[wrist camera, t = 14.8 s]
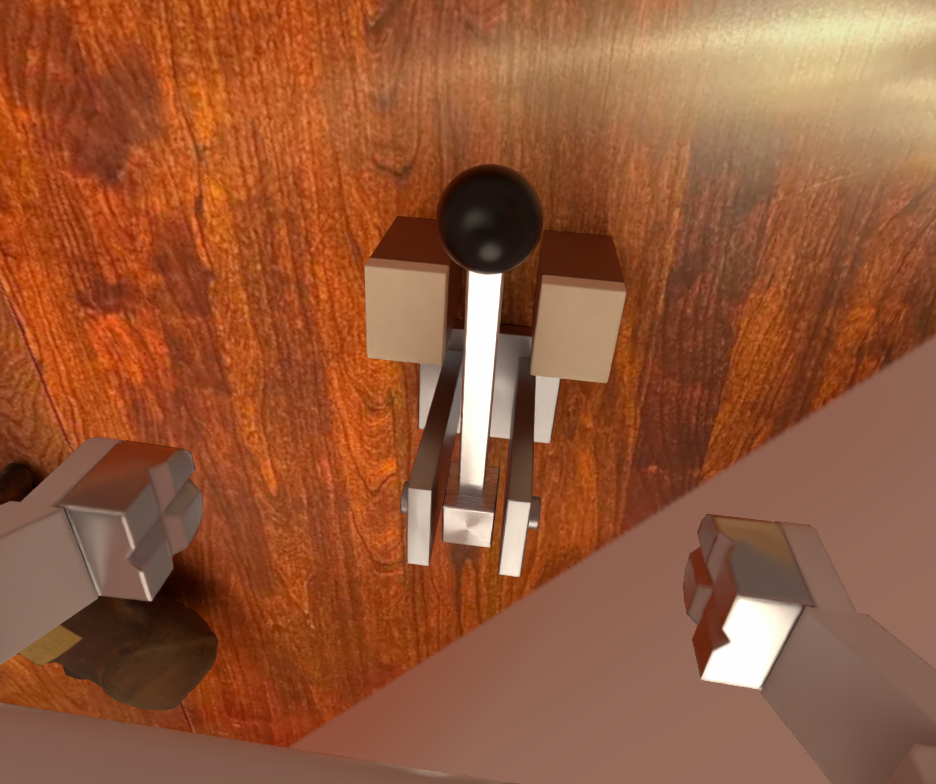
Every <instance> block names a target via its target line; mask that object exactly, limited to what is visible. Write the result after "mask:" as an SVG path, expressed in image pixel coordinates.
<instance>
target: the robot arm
mask: <svg viewBox="0 0 936 784" xmlns="http://www.w3.org/2000/svg"><path fill="white" fill-rule="evenodd" d="M194 471H195V465H194V462H193V458H192V454H191V453H190V452H189V451H187V450H185V449H182V448H175V447H168V446H162V445H155V444H148V443H142V442H135V441H128V440H126V441H123V440H117V439H111V438H104V437H94V438H91V439H87V440H86V441H85V442H84V443H83V444H82V445H81V446H80V447H78V448H77V449H76V450H75V451H74V452H73V453H72V454H71V455H70V456H69V457H68V458H67V459H66V460H65V461H64V462H63V463H61V464H60V465H59V466H58V467H57V468H56V469H55V470H54V471H53V472H52V473H51V474H50V475H49V476H48V477H47V478H45V479H44V480H43V481H42V482H41V483H40V484H39V485H38V486H37V487H36V488H35V489H34V490H33V491H32V492H31V493H30V494H28V495H27V496H26V497H25V498H24V499H23V500H22V501H21V502H15V501H9V502H7V503H5V504H2V505H0V665H1V664H3V663H4V662H6V661H7V660H9V659H10V658H12V657H13V656H15V655H16V654H17V653H19V652H20V651H22V650H23V649H25V648H26V647H28V646H29V645H31V644H32V643H34V642H35V641H36V640H38V639H39V638H41V637H42V636H44V635H45V634H47V633H48V632H50V631H51V630H53V629H54V628H55V627H57V626H58V625H60V624H61V623H63V622H64V621H66V620H67V619H69V618H70V617H72V616H73V615H74V614H76V613H77V612H79V611H80V610H82V609H83V608H85V607H86V606H88V605H89V604H91V603H92V602H94V601H95V600H96V599H98V596H107V597H116V598H125V599H134V600H143V601H152V600H153V599H154V597H155V596H156V594H157V593H158V591H159V590H160V588H161V587H162V585H163V584H164V582H165V581H166V579H167V578H168V576H169V575H170V573H171V572H172V570H173V569H174V566H173V561H172V556H173V555H175V554H176V553H178V552H180V551H182V550H183V549H185V548H187V547H188V546H189V545H190V543H191V541H192V540H193V538H194V537H195V535H196V534H197V531H198V528H199V525H200V521H201V518H202V509H203V501H202V496H201V491H200V489H199V488H198V487H197V486H196V485H195V484H194V483H193V482H192V481H191V480H190V479H189V477H190V476H191V475H192V473H193V472H194ZM697 534H698V538H699V542H700V545H701V546H700V547H699V548H697V549H696V550H694V551H693V552H691V553H690V555H689V558H688V561H687V565H686V568H685V574H684V583H683V591H684V601H685V607H686V612H687V615H688V616H689V617H690V618H691V619H692V620H693V621H694V622H695V623H696V624H697V629H696V631H695V634H694V636H693V639H692V641H693V646H694V650H695V655H696V659H697V664H698V668H699V673H700V678H701V680H708V681H713V682H719V683H725V684H731V685H737V686H743V687H749V688H755V689H760V690H761V692H760V693H761V694H762V695H763V697H764V698H765V699H766V700H767V702H768V703H769V704H770V705H771V707H772V708H773V709H774V711H775V712H776V713H777V714H778V716H779V717H780V718H781V720H782V721H783V722H784V723H785V725H786V726H787V727H788V728H789V730H790V731H791V732H792V733H793V735H794V736H795V737H796V739H797V740H798V741H799V742H800V744H801V745H802V746H803V747H804V749H805V750H806V751H807V753H808V754H809V755H810V756H811V758H812V759H813V760H814V761H815V763H816V764H817V765H818V767H819V768H820V769H821V770H822V772H823V773H824V774H825V775H826V777H827V778H828V779H829V780H830V782H831V783H832V784H936V669H934V668H933V667H932V666H931V665H929V664H928V663H927V662H926V661H924V660H923V659H922V658H921V657H919V656H918V655H917V654H916V653H914V652H913V651H912V650H911V649H910V648H908V647H907V646H906V645H905V644H903V643H902V642H901V641H900V640H899V639H897V638H896V637H895V636H894V635H892V634H891V633H890V632H889V631H887V630H886V629H885V628H884V627H883V626H881V625H880V624H879V623H878V622H876V621H875V620H874V619H873V618H871V617H870V616H869V615H865V614H858V613H857V612H856V610H855V608H854V606H853V604H852V602H851V600H850V598H849V596H848V594H847V592H846V590H845V587H844V585H843V583H842V581H841V579H840V577H839V575H838V573H837V571H836V569H835V567H834V565H833V563H832V561H831V559H830V557H829V555H828V553H827V551H826V549H825V547H824V545H823V543H822V541H821V539H820V537H819V535H818V533H817V531H816V530H815V529H814V528H813V527H812V526H810V525H805V524H796V523H787V522H777V521H776V522H771V521H763V520H755V519H746V518H738V517H729V516H720V515H712V514H706V516H705V517H704V518H703V519H702V521H701V524H700V526H699V529H698V532H697ZM97 595H98V596H97ZM0 784H518V783H511V782H505V781H498V780H492V779H486V778H479V777H472V776H466V775H459V774H453V773H447V772H439V771H433V770H427V769H420V768H415V767H408V766H401V765H395V764H389V763H382V762H376V761H370V760H363V759H357V758H350V757H344V756H337V755H331V754H324V753H318V752H312V751H305V750H299V749H292V748H286V747H280V746H273V745H267V744H260V743H254V742H247V741H241V740H235V739H228V738H222V737H215V736H209V735H203V734H196V733H190V732H183V731H177V730H170V729H164V728H158V727H151V726H145V725H138V724H132V723H126V722H119V721H113V720H106V719H100V718H93V717H87V716H81V715H74V714H68V713H61V712H55V711H49V710H42V709H36V708H29V707H23V706H17V705H10V704H4V703H0Z"/></svg>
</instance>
